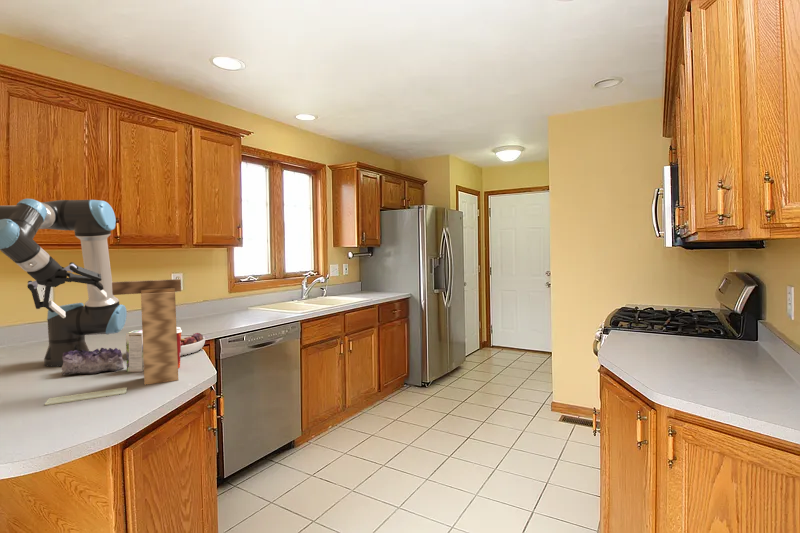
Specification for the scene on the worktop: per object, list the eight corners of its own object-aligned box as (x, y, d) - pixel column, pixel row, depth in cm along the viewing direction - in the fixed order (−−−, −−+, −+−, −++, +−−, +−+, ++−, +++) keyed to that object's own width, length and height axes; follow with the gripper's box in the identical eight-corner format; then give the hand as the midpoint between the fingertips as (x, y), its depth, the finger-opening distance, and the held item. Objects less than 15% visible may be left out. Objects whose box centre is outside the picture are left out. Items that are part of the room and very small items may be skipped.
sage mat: (44, 405, 128) (44, 404, 128) (48, 399, 133) (48, 398, 133) (126, 393, 138) (125, 392, 138) (126, 388, 143) (126, 387, 143)
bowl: (118, 364, 175) (117, 344, 174) (137, 348, 203) (136, 331, 203) (201, 357, 184) (200, 338, 184) (208, 343, 213) (207, 326, 212)
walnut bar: (112, 295, 144) (112, 282, 144) (113, 294, 148) (112, 282, 147) (181, 291, 154) (180, 279, 154) (180, 290, 157) (180, 279, 157)
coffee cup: (188, 366, 169) (186, 327, 169) (170, 372, 162) (169, 331, 161) (171, 364, 172) (169, 326, 172) (153, 370, 164) (151, 330, 164)
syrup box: (134, 368, 168) (132, 330, 167) (150, 367, 168) (149, 329, 168) (126, 372, 162) (124, 332, 162) (143, 371, 163) (141, 332, 162)
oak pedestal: (144, 384, 147) (140, 290, 145) (144, 377, 155) (141, 288, 154) (178, 380, 152) (175, 288, 150) (176, 373, 160) (173, 286, 159)
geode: (128, 365, 174) (127, 340, 172) (120, 377, 163) (119, 350, 161) (67, 368, 167) (65, 342, 166) (53, 380, 156) (52, 353, 155)
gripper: (-8, 290, 129) (46, 331, 144) (81, 252, 135) (123, 295, 150) (-6, 275, 134) (46, 315, 149) (80, 238, 139) (121, 281, 155)
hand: (85, 305), depth 150 cm, fingers open, 13 cm apart
